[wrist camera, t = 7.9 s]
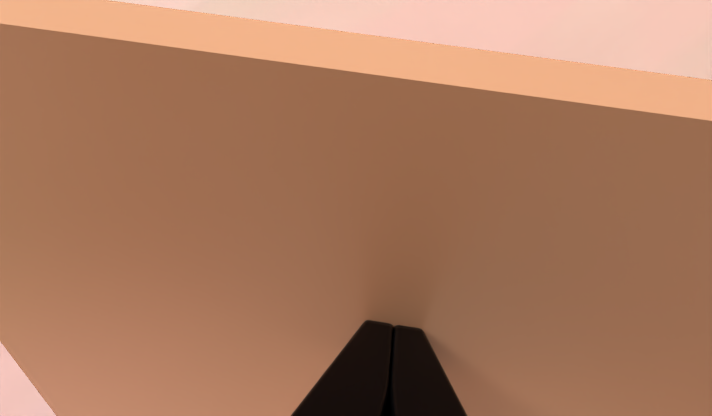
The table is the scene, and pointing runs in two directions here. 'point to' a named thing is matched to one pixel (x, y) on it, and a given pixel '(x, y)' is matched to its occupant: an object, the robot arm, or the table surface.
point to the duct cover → (343, 216)
